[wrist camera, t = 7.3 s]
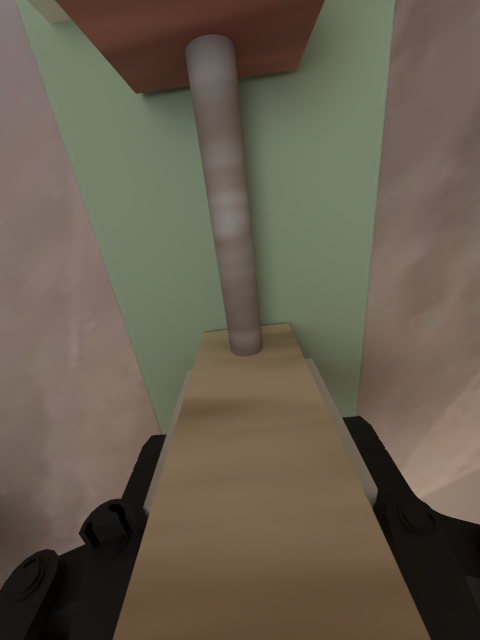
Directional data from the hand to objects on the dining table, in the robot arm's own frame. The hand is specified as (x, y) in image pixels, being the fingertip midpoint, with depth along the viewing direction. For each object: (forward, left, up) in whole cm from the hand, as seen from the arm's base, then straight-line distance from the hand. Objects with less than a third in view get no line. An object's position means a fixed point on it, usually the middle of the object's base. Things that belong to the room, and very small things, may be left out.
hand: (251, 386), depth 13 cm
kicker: (+7, 0, -2) cm, 7 cm away
